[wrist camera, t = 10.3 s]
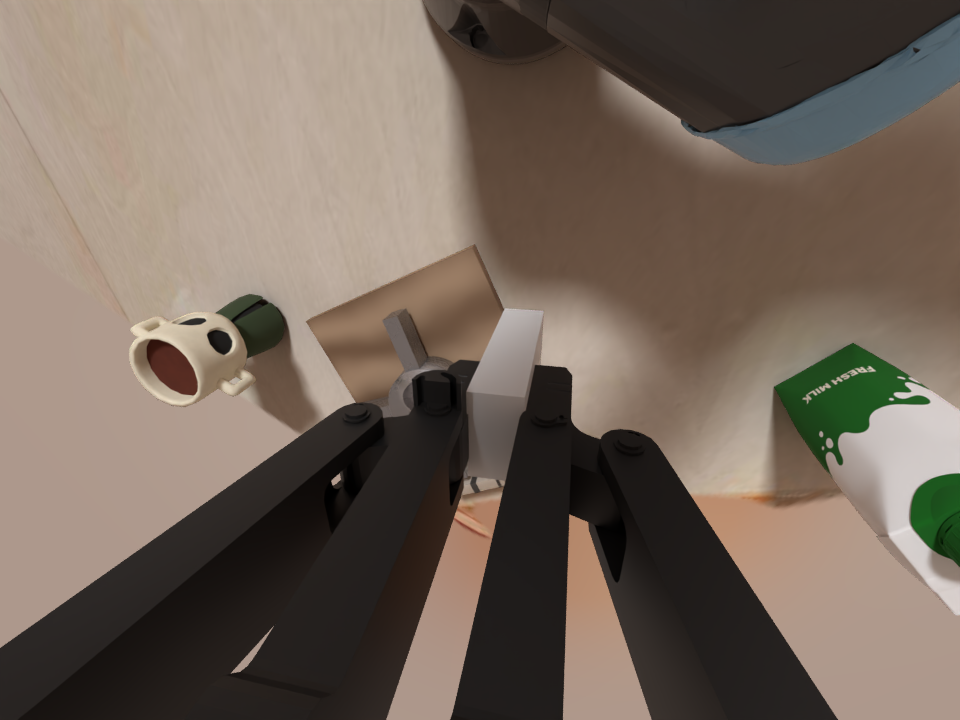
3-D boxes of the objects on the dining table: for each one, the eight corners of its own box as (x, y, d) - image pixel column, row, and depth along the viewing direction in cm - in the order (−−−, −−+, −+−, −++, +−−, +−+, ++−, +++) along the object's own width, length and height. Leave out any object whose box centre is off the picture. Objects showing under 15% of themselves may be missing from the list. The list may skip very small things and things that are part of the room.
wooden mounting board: (312, 317, 47) (289, 332, 44) (474, 244, 40) (464, 254, 37) (414, 485, 55) (402, 510, 51) (566, 448, 48) (565, 474, 44)
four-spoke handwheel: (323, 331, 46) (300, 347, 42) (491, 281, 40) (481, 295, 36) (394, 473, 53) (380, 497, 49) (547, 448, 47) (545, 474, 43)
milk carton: (858, 328, 37) (1112, 492, 19) (913, 400, 39) (1194, 613, 21) (757, 385, 41) (893, 565, 23) (812, 449, 42) (977, 663, 25)
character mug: (315, 323, 48) (231, 378, 36) (293, 369, 51) (210, 433, 40) (227, 265, 47) (113, 303, 35) (211, 316, 50) (102, 366, 39)
